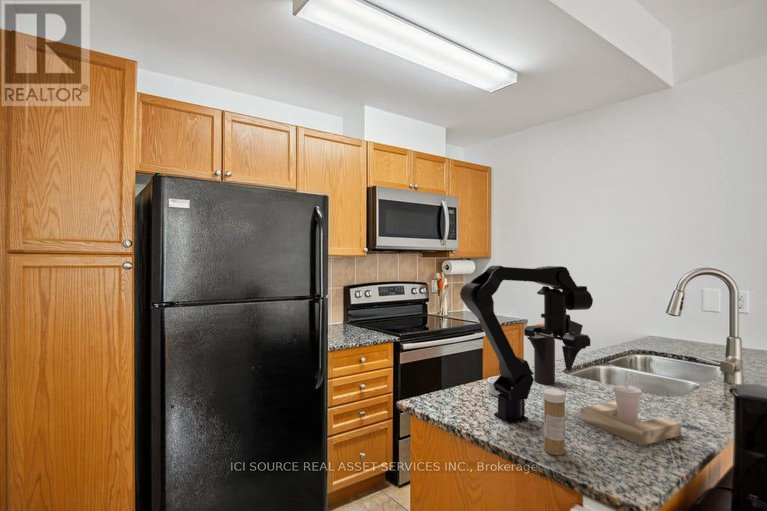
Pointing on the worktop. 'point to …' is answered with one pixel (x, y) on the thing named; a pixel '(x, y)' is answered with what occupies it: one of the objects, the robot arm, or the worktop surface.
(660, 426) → the slot board
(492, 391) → the ramekin
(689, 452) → the worktop surface
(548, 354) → the vinegar
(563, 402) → the sprinkles bottle
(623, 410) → the smoothie
